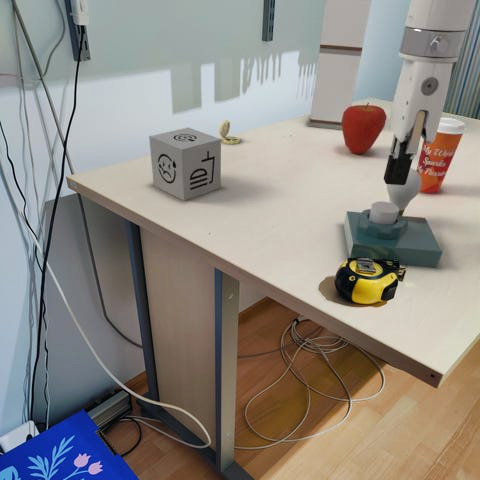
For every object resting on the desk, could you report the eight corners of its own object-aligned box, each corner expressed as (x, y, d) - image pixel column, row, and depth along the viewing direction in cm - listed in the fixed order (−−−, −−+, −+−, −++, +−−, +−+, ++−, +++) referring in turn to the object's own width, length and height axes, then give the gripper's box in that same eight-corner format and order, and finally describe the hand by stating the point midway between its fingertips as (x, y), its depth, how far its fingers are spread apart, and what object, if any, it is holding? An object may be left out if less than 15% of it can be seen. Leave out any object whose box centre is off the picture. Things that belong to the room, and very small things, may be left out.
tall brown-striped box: (347, 121, 135) (374, -19, 113) (346, 130, 127) (375, -18, 105) (312, 117, 137) (331, -21, 115) (309, 126, 129) (329, -21, 107)
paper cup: (405, 190, 93) (425, 122, 84) (410, 179, 98) (430, 114, 89) (442, 198, 90) (467, 129, 81) (445, 186, 96) (469, 120, 87)
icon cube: (220, 188, 90) (221, 139, 83) (183, 200, 84) (181, 149, 78) (190, 174, 95) (188, 127, 89) (153, 185, 89) (149, 136, 83)
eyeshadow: (234, 145, 112) (234, 125, 109) (218, 141, 114) (218, 122, 111) (242, 141, 115) (243, 121, 112) (226, 137, 117) (226, 118, 114)
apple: (357, 143, 118) (367, 95, 110) (386, 155, 111) (399, 105, 103) (327, 149, 113) (335, 99, 105) (356, 161, 106) (367, 109, 98)
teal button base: (420, 232, 78) (428, 207, 74) (436, 267, 68) (447, 240, 65) (343, 226, 78) (349, 200, 75) (349, 259, 69) (355, 232, 66)
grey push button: (392, 215, 72) (396, 202, 71) (397, 227, 69) (401, 214, 67) (366, 213, 72) (370, 200, 71) (370, 225, 69) (373, 211, 68)
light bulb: (405, 230, 78) (422, 177, 72) (374, 222, 80) (388, 169, 74) (412, 218, 82) (429, 167, 76) (382, 210, 84) (396, 160, 78)
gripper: (479, 55, 49) (429, 204, 61) (445, 39, 60) (408, 167, 72) (413, 52, 49) (376, 201, 61) (391, 37, 61) (364, 164, 73)
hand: (394, 182), depth 67 cm, fingers closed
